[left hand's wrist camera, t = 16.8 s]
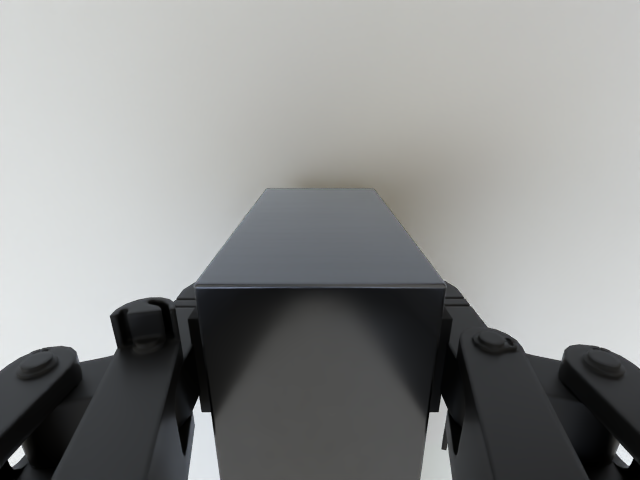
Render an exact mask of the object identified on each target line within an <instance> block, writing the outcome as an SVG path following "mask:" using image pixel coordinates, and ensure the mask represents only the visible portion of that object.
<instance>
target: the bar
mask: <svg viewBox="0 0 640 480" xmlns="http://www.w3.org/2000/svg"><path fill="white" fill-rule="evenodd" d="M446 288H447V286H446V283H445V282H444V281H443V279H442V278H441V277H440V275H439V274H438V273H437V271H436V270H435V269H434V267H433V266H432V265H431V263H430V262H429V261H428V259H427V258H426V257H425V255H424V254H423V253H422V252H421V250H420V249H419V248H418V246H417V245H416V244H415V242H414V241H413V240H412V238H411V237H410V236H409V234H408V233H407V232H406V230H405V229H404V228H403V226H402V225H401V224H400V222H399V221H398V220H397V219H396V217H395V216H394V215H393V213H392V212H391V211H390V209H389V208H388V207H387V205H386V204H385V203H384V201H383V200H382V199H381V197H380V196H379V195H378V193H377V192H376V191H375V189H373V188H267V189H266V190H265V191H264V192H263V194H262V195H261V196H260V198H259V199H258V200H257V202H256V203H255V204H254V206H253V207H252V208H251V210H250V211H249V212H248V214H247V215H246V216H245V218H244V219H243V220H242V222H241V223H240V224H239V226H238V227H237V228H236V229H235V231H234V232H233V233H232V235H231V236H230V237H229V239H228V240H227V241H226V243H225V244H224V245H223V247H222V248H221V249H220V251H219V252H218V253H217V255H216V256H215V257H214V259H213V260H212V261H211V263H210V264H209V265H208V267H207V268H206V269H205V271H204V272H203V273H202V275H201V276H200V277H199V279H198V280H197V281H196V283H195V285H194V291H195V299H196V306H197V313H198V321H199V328H200V335H201V342H202V350H203V357H204V364H205V372H206V379H207V386H208V393H209V401H210V408H211V415H212V422H213V430H214V437H215V444H216V452H217V459H218V466H219V473H220V480H420V476H421V469H422V462H423V455H424V447H425V440H426V433H427V426H428V418H429V411H430V404H431V397H432V389H433V382H434V375H435V368H436V360H437V353H438V346H439V339H440V331H441V324H442V317H443V310H444V302H445V295H446Z"/></svg>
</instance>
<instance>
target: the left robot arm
mask: <svg viewBox="0 0 640 480" xmlns="http://www.w3.org/2000/svg"><path fill="white" fill-rule="evenodd" d="M444 282H445V283H446V286H447V288H446V295H445V302H444V310H443V317H442V324H441V331H440V339H439V346H438V353H437V360H436V368H435V375H434V382H433V389H432V397H431V404H430V411H429V412H439V406H440V399H441V394H442V397H443V399H444V401H445V404H446V406H447V408H448V411H447V417H446V423H445V429H444V435H443V441H442V449H443V450H446V449H447V443H448V450H449V457H450V465H451V472H452V480H640V369H639V368H638V367H637V366H636V365H634V364H633V363H631V362H630V361H628V360H627V359H625V358H623V357H622V356H620V355H618V354H615V353H613V352H611V351H609V350H607V349H604V348H599V347H597V346H590V345H580V344H579V345H572V346H569V347H568V348H567V349H565V350H564V354H563V357H562V361H559V360H554V359H549V358H544V357H539V356H534V355H530V354H526V353H525V351H524V350H523V348H522V346H521V345H520V344H519V343H518V341H517V340H515V339H514V338H512V337H511V336H509V335H508V334H506V333H503V332H501V331H498V330H496V329H491V328H488V327H487V326H486V325H485V323H484V322H483V321H482V320H481V318H480V317H479V316H478V315H477V313H476V312H475V311H474V309H473V308H472V307H471V306H470V304H469V303H468V302H467V301H466V299H464V297H463V296H462V294H461V293H460V292H459V290H458V289H457V288H455V287H454V286H452V285H451V284H449V283H447V282H446V281H444ZM195 283H196V282H195ZM195 283H193V284H192V285H190V286H188V287H187V288H185V289H184V290H183V291H182V292H181V293H180V295H179V296H178V297H177V300H175V301H174V302H173V301H171V300H170V299H166V298H162V297H151V298H145V299H139V300H136V301H133V302H130V303H127V304H125V305H123V306H122V307H120V308H118V309H116V310H115V311H114V312H113V313H112V314H111V315H110V319H111V323H112V327H113V331H114V335H115V339H116V343H117V350H116V352H115V354H114V355H113V356H109V357H104V358H99V359H94V360H89V361H84V362H79V360H78V356H77V353H76V351H75V350H74V349H72V348H71V347H65V346H57V347H47V348H42V349H41V350H40V349H39V350H36V351H33V352H31V353H29V354H27V355H25V356H23V357H20V358H19V359H17V360H15V361H14V362H12V363H11V364H9V365H8V366H6V367H5V368H4V369H2V370H1V371H0V480H188V473H189V466H190V458H191V450H192V443H193V435H194V428H195V424H194V417H193V408H194V406H195V404H196V401H197V399H198V397H199V398H200V404H201V411H202V412H211V408H210V401H209V393H208V386H207V379H206V372H205V364H204V357H203V350H202V342H201V335H200V328H199V321H198V313H197V306H196V299H195V291H194V285H195ZM619 444H621V445H622V446H623V447H624V448H625V449H626V450H627V451H628V452H629V453H630V455H631V456H632V457H633V461H632V463H631V465H630V466H628V465H627V464H625V463H624V462H623V461H622V460H621V459H620V458H619V457H618V455H617V454H616V451H617V449H618V446H619ZM21 445H22V448H23V450H24V453H25V456H24V457H23V458H22V459H21V460H20V461H19V462H18V463H17V464H16V465H14V466H13V467H11V466H10V465H9V462H8V459H9V458H10V457H11V455H12V454H13V453H14V452H15V451H16V450H17V449H18V448H19V447H20V446H21Z"/></svg>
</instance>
